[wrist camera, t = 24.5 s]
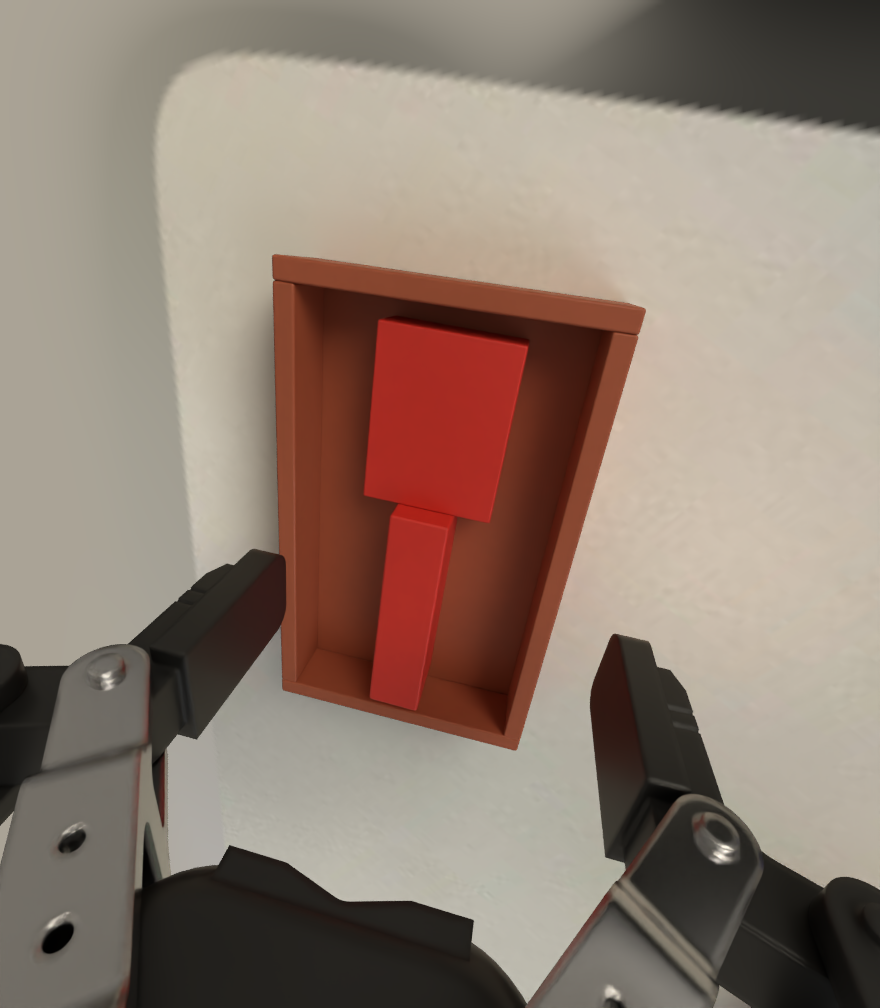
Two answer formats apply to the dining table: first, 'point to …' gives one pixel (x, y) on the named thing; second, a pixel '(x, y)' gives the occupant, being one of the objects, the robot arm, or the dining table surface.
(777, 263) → the dining table surface
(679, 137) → the dining table surface
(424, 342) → the red spoon
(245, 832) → the dining table surface
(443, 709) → the red tray
